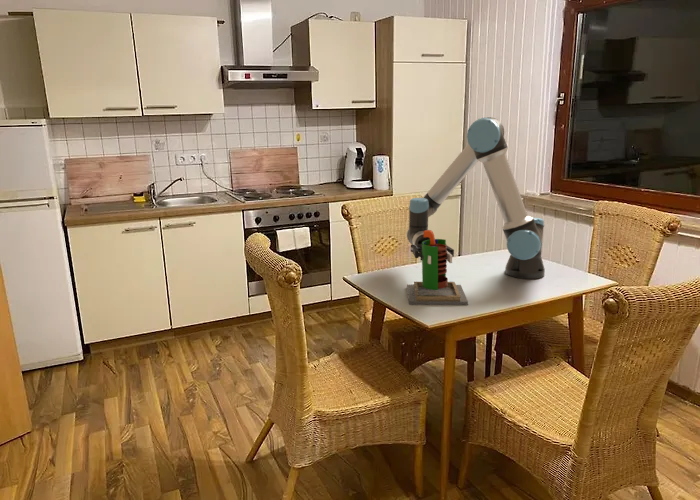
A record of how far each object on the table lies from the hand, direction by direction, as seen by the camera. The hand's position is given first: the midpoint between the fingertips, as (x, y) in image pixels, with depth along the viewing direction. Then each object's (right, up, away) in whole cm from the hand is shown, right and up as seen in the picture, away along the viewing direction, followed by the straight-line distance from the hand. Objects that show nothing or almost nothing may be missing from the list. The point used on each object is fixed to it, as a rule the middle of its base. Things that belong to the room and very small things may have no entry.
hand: (440, 259), depth 181 cm
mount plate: (0, -13, +9) cm, 16 cm away
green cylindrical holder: (-1, -9, +8) cm, 12 cm away
